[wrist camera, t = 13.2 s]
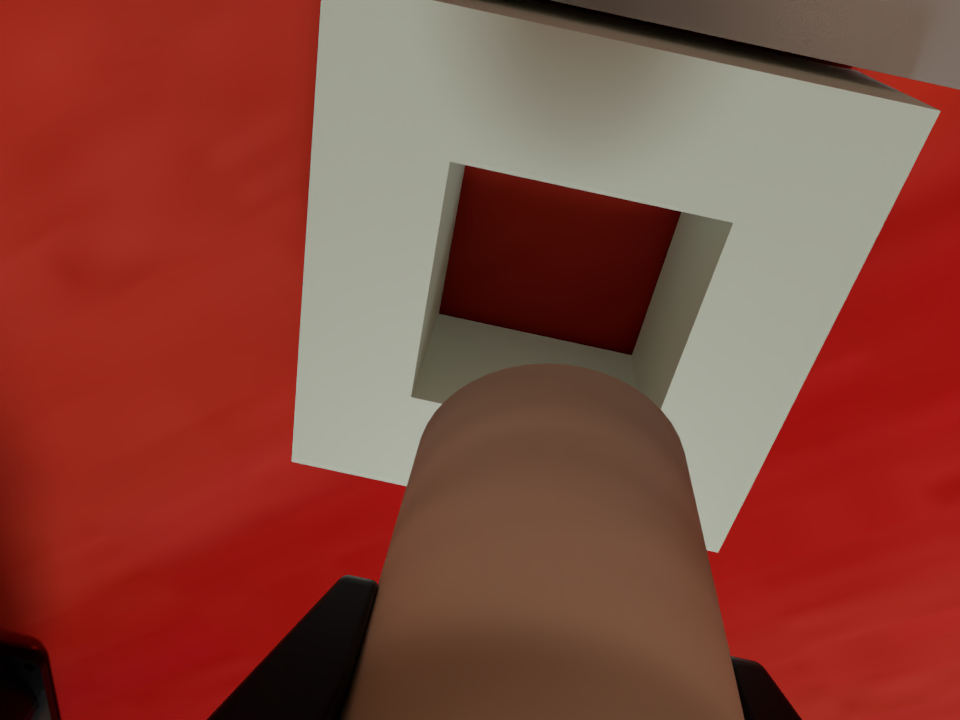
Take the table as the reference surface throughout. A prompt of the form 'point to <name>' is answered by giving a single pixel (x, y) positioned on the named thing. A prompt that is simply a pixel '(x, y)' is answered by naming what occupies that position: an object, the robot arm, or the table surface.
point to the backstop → (822, 29)
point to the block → (594, 168)
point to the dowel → (546, 565)
